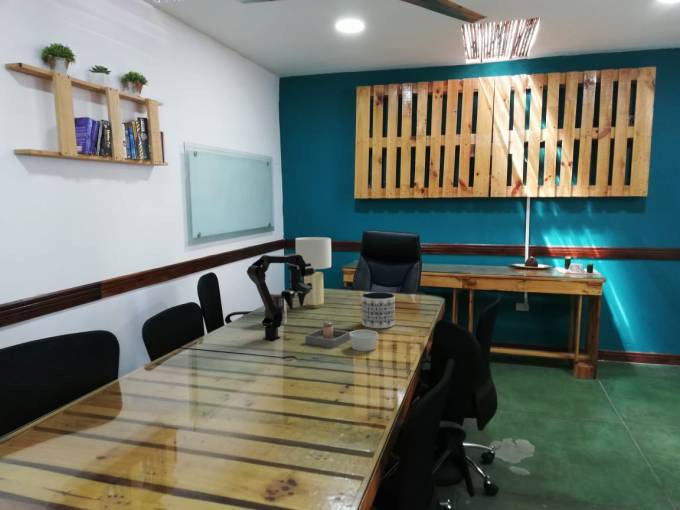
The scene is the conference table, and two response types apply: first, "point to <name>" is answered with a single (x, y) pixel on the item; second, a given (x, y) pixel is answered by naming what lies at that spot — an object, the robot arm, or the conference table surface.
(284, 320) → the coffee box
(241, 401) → the conference table surface
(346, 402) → the conference table surface
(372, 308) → the planter
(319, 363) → the conference table surface
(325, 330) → the shaker
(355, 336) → the ramekin
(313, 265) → the lamp
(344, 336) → the tray
